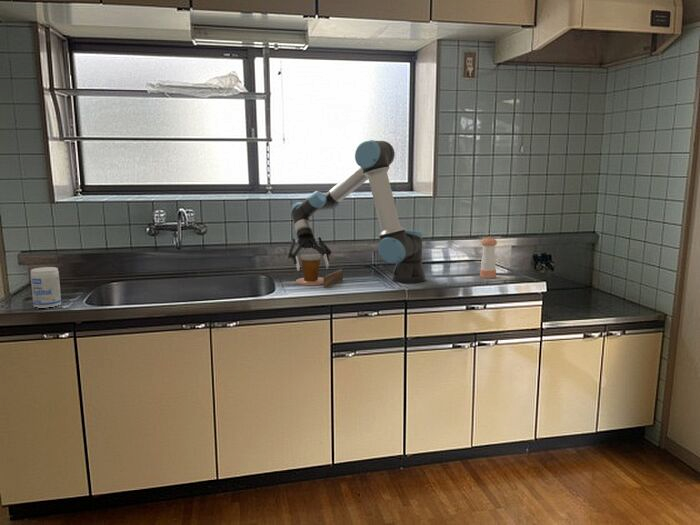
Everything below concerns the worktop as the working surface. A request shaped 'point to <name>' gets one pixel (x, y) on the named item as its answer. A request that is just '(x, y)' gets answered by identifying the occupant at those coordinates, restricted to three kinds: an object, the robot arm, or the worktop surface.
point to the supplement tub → (45, 287)
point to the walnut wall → (333, 278)
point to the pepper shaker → (488, 258)
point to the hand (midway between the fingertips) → (313, 268)
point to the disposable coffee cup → (310, 266)
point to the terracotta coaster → (303, 282)
